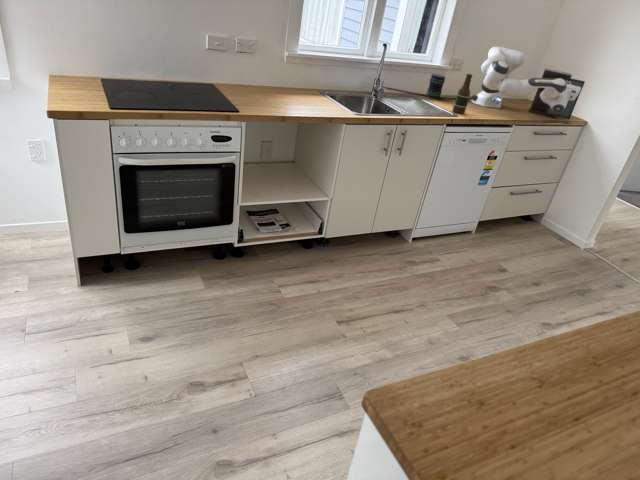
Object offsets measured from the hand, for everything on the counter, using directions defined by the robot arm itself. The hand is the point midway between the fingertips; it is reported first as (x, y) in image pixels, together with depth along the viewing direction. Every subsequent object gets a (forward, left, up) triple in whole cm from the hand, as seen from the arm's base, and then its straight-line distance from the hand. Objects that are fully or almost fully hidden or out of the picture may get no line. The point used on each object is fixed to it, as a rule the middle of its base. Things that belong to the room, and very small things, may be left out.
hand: (566, 81), depth 333 cm
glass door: (+2, -2, -24) cm, 25 cm away
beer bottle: (-84, +10, -26) cm, 89 cm away
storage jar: (-73, +47, -26) cm, 91 cm away
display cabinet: (+5, +12, -26) cm, 29 cm away
